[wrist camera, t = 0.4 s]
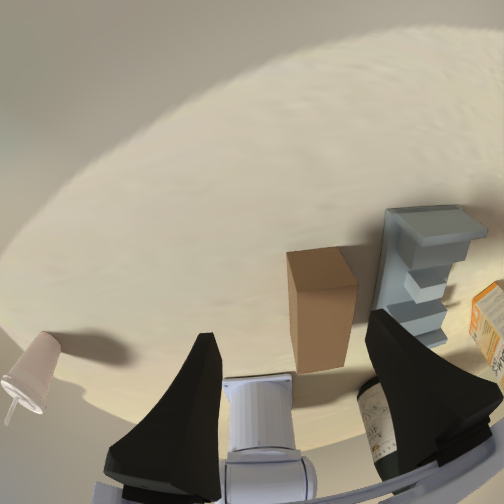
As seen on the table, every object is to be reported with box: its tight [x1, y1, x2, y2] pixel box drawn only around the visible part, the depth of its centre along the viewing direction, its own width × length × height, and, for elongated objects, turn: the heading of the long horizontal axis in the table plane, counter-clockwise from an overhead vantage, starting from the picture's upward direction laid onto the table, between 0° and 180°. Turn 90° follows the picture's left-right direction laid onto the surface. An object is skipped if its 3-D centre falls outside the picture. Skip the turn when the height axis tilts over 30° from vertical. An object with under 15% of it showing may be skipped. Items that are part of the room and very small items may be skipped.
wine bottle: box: [357, 377, 413, 496], centre depth 19 cm, size 8×8×30 cm
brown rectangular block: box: [286, 246, 358, 375], centre depth 21 cm, size 9×4×5 cm, turn 7°
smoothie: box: [1, 332, 61, 426], centre depth 20 cm, size 6×6×14 cm
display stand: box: [367, 205, 488, 349], centre depth 20 cm, size 13×8×5 cm, turn 7°
